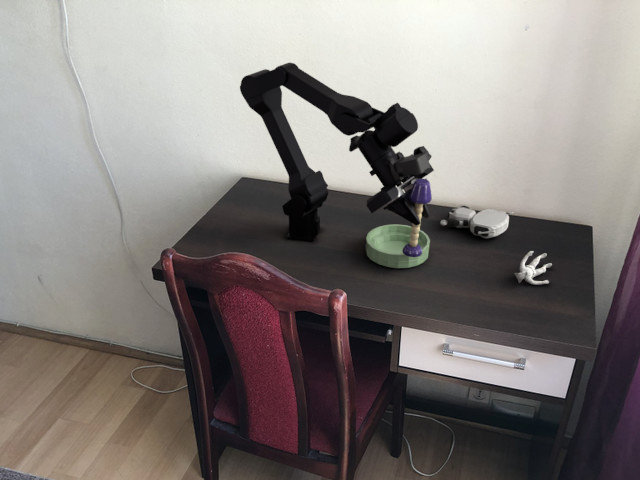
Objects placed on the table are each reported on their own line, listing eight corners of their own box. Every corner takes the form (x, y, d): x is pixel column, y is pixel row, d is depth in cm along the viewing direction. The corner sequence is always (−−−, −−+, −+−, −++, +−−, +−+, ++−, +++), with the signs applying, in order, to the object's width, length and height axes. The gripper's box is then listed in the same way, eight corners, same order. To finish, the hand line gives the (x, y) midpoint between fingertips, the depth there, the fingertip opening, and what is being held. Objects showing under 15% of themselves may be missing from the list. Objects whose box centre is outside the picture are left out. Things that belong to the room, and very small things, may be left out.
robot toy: (436, 234, 167) (495, 247, 160) (437, 217, 165) (497, 230, 158) (457, 215, 176) (514, 227, 169) (458, 198, 174) (516, 210, 166)
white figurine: (559, 277, 152) (544, 285, 142) (539, 286, 155) (524, 295, 145) (542, 245, 153) (527, 252, 143) (523, 255, 156) (506, 262, 146)
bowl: (360, 265, 153) (361, 250, 151) (371, 235, 165) (372, 221, 163) (424, 273, 151) (426, 258, 149) (431, 242, 162) (432, 228, 160)
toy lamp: (415, 244, 151) (423, 174, 141) (429, 254, 148) (438, 182, 138) (398, 250, 149) (405, 179, 139) (412, 260, 146) (419, 188, 136)
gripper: (383, 152, 130) (429, 221, 131) (430, 124, 142) (471, 187, 144) (347, 179, 138) (390, 245, 139) (394, 151, 150) (433, 210, 152)
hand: (423, 221), depth 143 cm, fingers closed on toy lamp, 4 cm apart
